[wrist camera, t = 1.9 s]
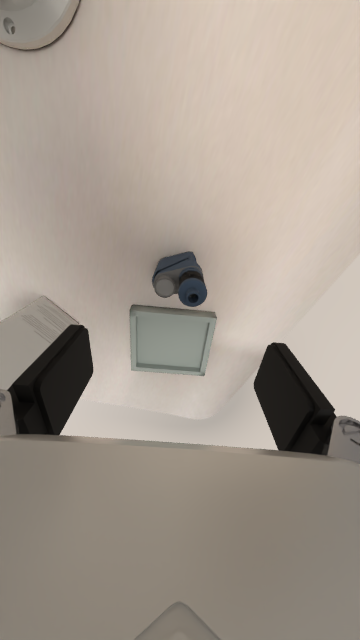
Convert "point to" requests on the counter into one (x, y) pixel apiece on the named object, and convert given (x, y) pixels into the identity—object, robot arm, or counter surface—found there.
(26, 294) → the counter surface
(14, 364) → the skincare box
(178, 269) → the vaping device
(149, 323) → the tray
